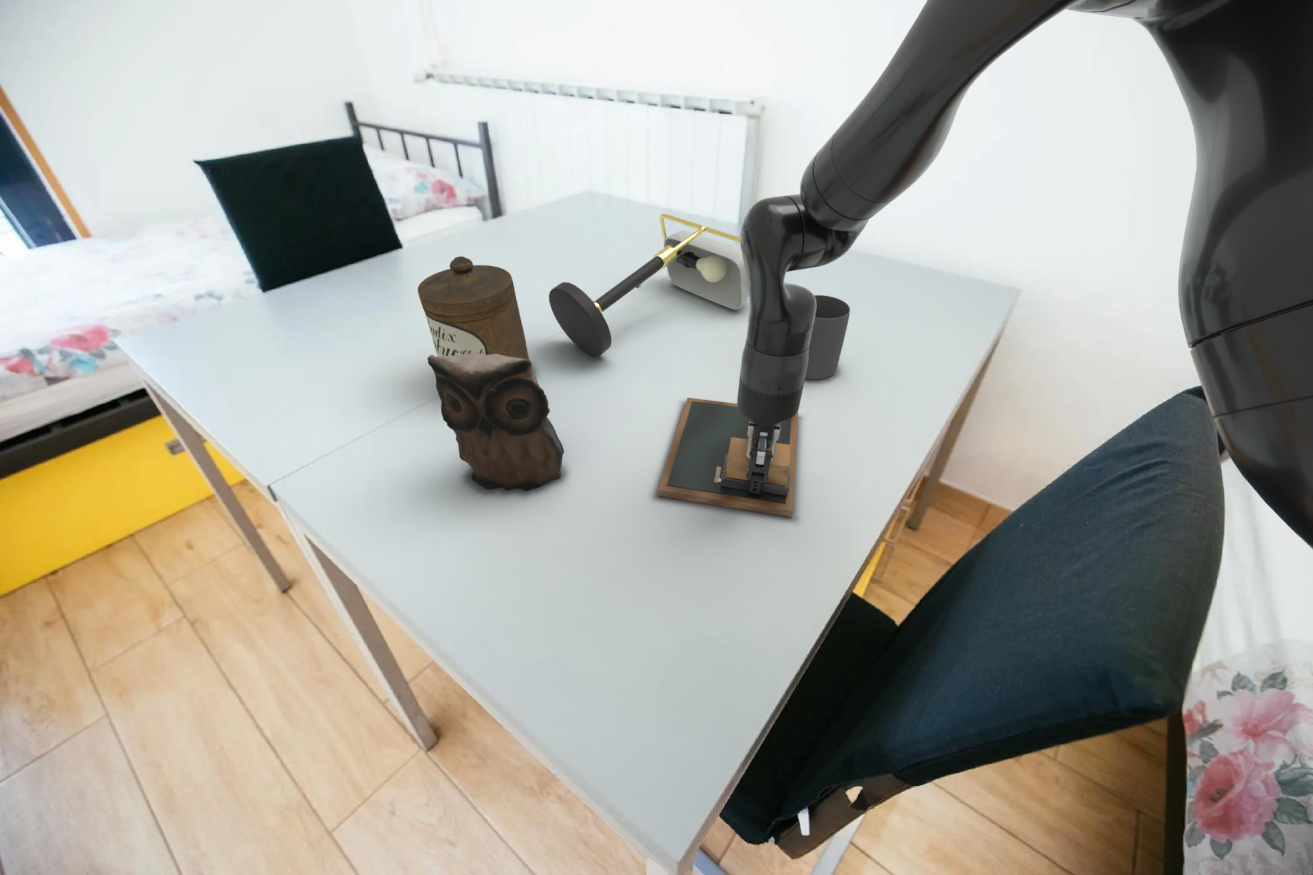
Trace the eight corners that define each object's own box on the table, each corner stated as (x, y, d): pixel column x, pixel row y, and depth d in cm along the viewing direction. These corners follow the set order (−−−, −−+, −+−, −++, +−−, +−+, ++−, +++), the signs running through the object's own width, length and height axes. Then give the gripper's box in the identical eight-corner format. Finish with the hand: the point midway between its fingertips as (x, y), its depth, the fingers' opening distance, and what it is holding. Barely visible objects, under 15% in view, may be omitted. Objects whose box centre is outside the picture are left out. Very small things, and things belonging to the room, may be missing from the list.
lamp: (643, 412, 102) (774, 298, 117) (614, 316, 85) (771, 196, 100) (558, 359, 117) (684, 264, 131) (519, 268, 100) (668, 170, 114)
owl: (571, 479, 77) (553, 357, 64) (487, 518, 71) (448, 394, 58) (533, 433, 85) (509, 317, 72) (454, 465, 79) (414, 346, 66)
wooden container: (430, 382, 96) (390, 261, 82) (497, 348, 105) (471, 234, 91) (481, 413, 89) (446, 287, 75) (548, 374, 98) (529, 255, 84)
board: (796, 417, 87) (798, 410, 86) (791, 517, 71) (793, 509, 70) (687, 403, 91) (687, 396, 90) (658, 496, 74) (658, 488, 73)
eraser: (789, 471, 76) (794, 443, 72) (787, 496, 72) (793, 468, 69) (725, 461, 77) (727, 435, 74) (720, 486, 73) (723, 458, 70)
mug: (800, 348, 104) (811, 290, 96) (845, 365, 99) (860, 304, 92) (762, 379, 96) (771, 317, 88) (809, 398, 91) (822, 335, 84)
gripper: (804, 414, 58) (781, 521, 68) (805, 347, 68) (785, 448, 79) (733, 405, 59) (722, 511, 70) (746, 341, 70) (734, 441, 80)
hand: (756, 477), depth 74 cm, fingers closed on eraser, 5 cm apart
